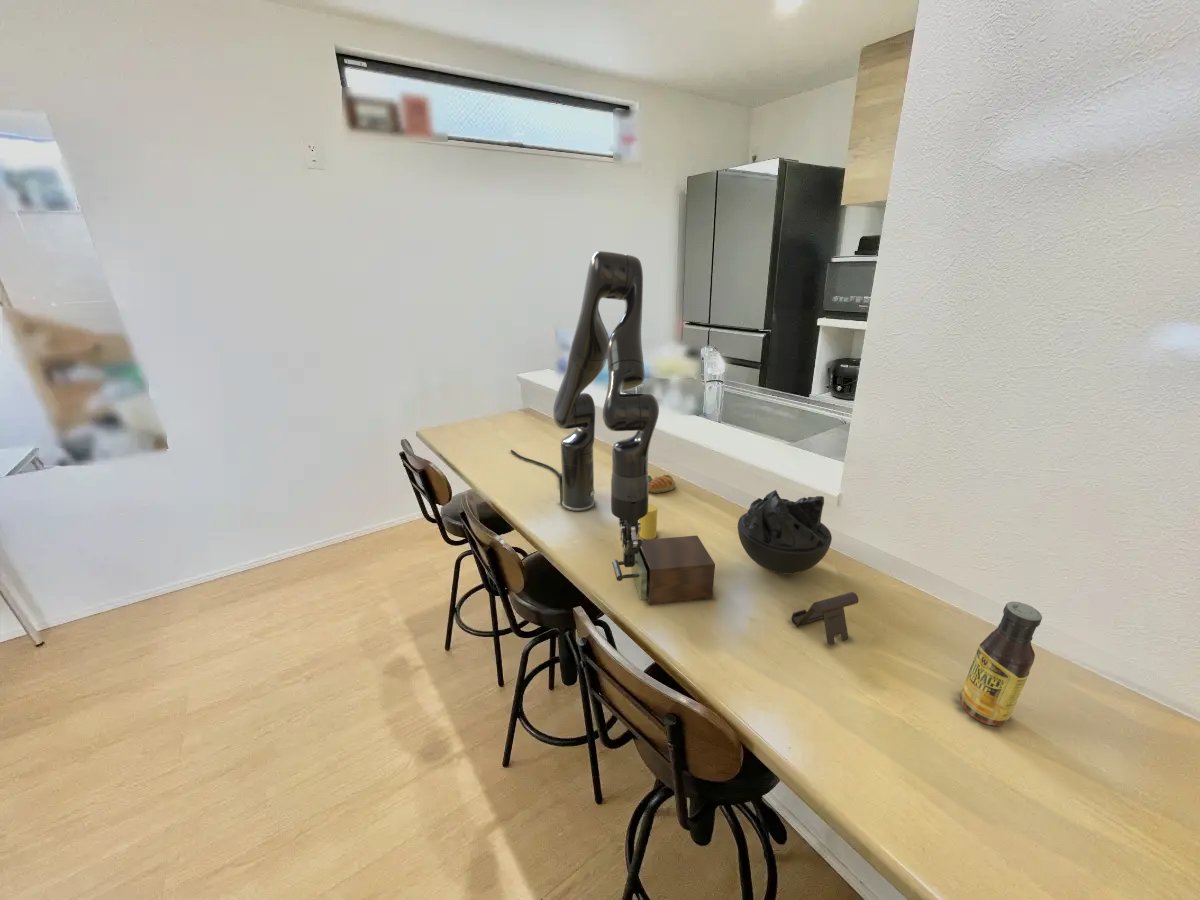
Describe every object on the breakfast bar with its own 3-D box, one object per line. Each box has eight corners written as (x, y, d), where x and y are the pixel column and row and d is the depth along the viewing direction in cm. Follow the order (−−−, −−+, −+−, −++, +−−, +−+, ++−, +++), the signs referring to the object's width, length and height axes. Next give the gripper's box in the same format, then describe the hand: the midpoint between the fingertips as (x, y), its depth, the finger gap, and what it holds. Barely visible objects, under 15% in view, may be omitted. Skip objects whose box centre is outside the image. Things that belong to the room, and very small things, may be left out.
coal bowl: (720, 571, 113) (726, 497, 106) (752, 535, 128) (760, 468, 121) (810, 604, 101) (824, 524, 95) (834, 561, 116) (848, 488, 110)
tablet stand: (826, 611, 100) (832, 576, 97) (857, 636, 93) (865, 599, 90) (790, 621, 97) (796, 585, 94) (820, 648, 90) (827, 610, 87)
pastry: (655, 496, 150) (656, 485, 149) (640, 489, 155) (640, 478, 154) (677, 488, 155) (677, 477, 154) (661, 481, 160) (662, 470, 159)
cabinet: (649, 605, 102) (650, 569, 99) (637, 572, 113) (638, 540, 110) (712, 598, 104) (715, 564, 101) (695, 567, 114) (697, 535, 111)
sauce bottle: (949, 696, 80) (981, 594, 73) (985, 693, 80) (1020, 592, 73) (981, 732, 73) (1020, 624, 67) (1020, 729, 74) (1062, 621, 67)
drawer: (618, 602, 101) (618, 574, 99) (610, 573, 111) (610, 547, 109) (698, 594, 103) (700, 567, 101) (684, 566, 113) (685, 541, 111)
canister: (636, 536, 128) (636, 508, 125) (645, 529, 131) (645, 502, 129) (650, 541, 126) (651, 513, 123) (659, 534, 129) (660, 506, 126)
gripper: (606, 479, 104) (606, 550, 110) (616, 507, 92) (616, 585, 98) (641, 477, 105) (639, 547, 111) (656, 504, 93) (653, 582, 99)
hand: (628, 565), depth 105 cm, fingers closed
